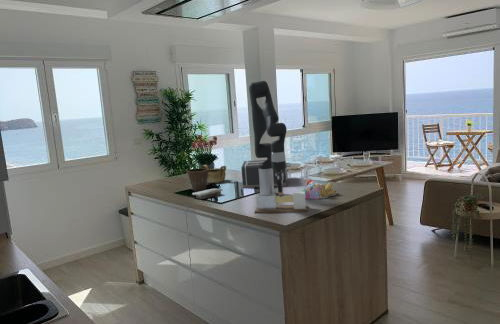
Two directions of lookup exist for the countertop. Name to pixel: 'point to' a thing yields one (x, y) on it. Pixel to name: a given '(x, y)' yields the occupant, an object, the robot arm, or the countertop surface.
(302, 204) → the socket
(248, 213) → the countertop surface
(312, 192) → the candy landscape model
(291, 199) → the sliding latch bolt
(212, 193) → the packaged product
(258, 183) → the toaster
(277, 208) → the base board
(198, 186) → the plant pot
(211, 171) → the woven basket
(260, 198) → the sleeve
